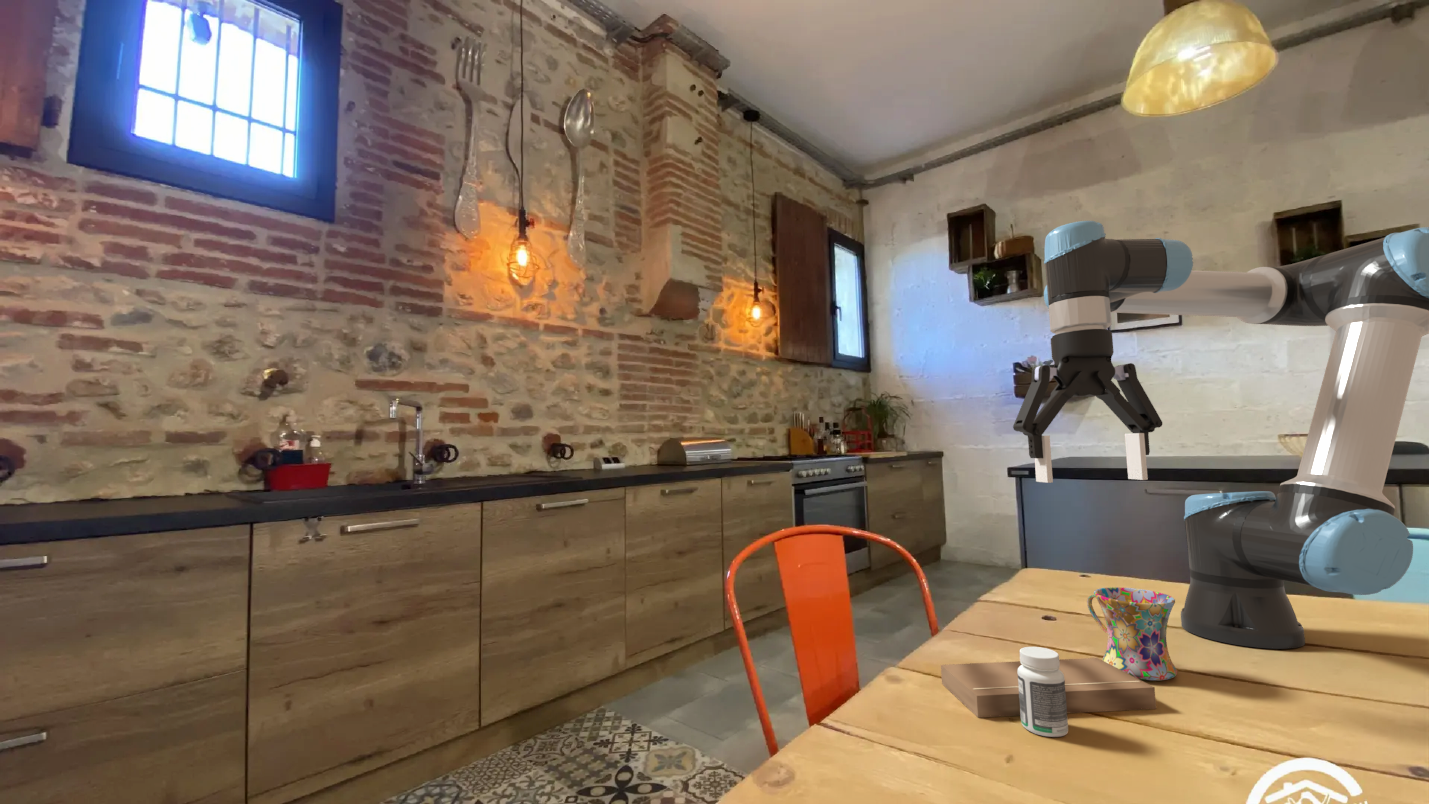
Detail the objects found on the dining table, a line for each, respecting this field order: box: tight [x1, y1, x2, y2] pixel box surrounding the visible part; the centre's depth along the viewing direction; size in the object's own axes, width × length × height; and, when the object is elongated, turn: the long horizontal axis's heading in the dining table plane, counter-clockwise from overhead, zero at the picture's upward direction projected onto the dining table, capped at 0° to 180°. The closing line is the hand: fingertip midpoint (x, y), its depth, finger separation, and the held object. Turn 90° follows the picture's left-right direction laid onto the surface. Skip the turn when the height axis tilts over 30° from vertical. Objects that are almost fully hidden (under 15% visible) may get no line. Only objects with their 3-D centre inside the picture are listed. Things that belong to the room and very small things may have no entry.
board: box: [940, 657, 1157, 718], centre depth 76 cm, size 22×10×3 cm, turn 93°
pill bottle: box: [1017, 646, 1069, 738], centre depth 67 cm, size 5×5×8 cm
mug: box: [1086, 586, 1178, 681], centre depth 84 cm, size 12×9×11 cm
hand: (1091, 481), depth 83 cm, fingers open, 13 cm apart
